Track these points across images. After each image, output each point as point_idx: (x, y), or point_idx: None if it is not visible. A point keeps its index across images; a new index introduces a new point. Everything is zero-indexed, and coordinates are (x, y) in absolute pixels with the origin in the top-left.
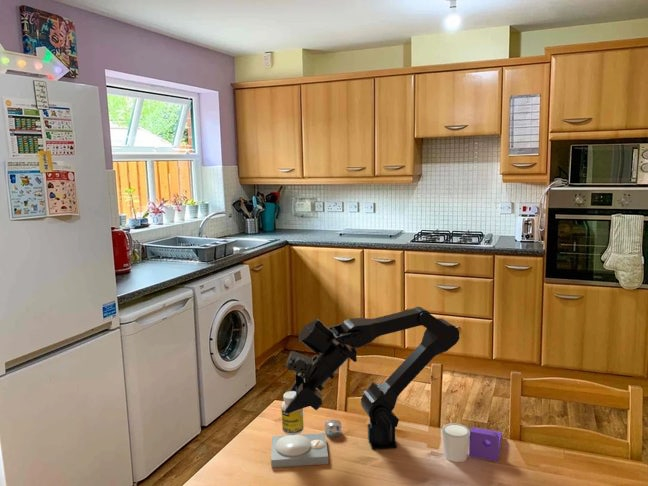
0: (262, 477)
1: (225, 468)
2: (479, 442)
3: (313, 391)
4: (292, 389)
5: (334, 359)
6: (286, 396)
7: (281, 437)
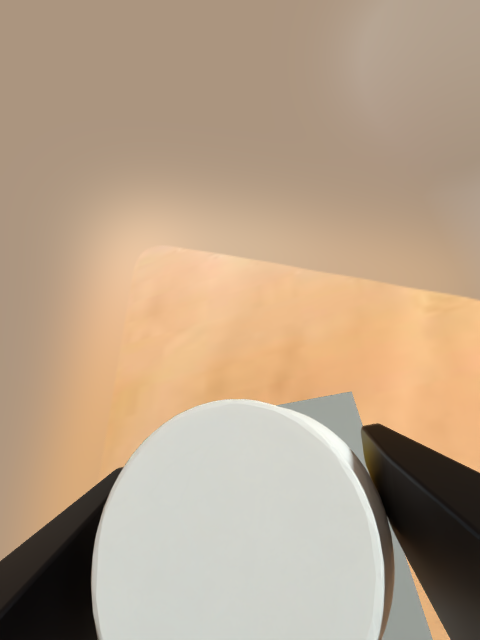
0: (125, 411)
1: (183, 290)
2: None
3: None
4: (468, 537)
5: None
6: (172, 456)
7: (348, 438)
